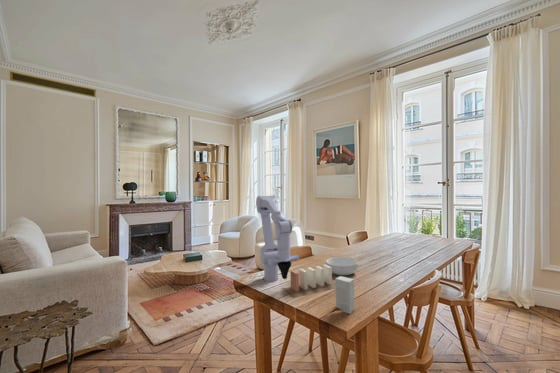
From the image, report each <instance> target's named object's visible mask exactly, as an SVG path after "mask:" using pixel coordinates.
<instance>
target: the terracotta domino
mask: <svg viewBox="0 0 560 373" xmlns="http://www.w3.org/2000/svg"><path fill="white" fill-rule="evenodd" d="M289 272H290V287H291V288H292V289H293V290H294V291H296V292H297V291H299V271H296V270H294V269H292V270H290V271H289Z"/></svg>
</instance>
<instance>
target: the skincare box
mask: <svg viewBox="0 0 560 373" xmlns="http://www.w3.org/2000/svg"><path fill="white" fill-rule="evenodd" d="M334 281H335V282H334V283H335V285H336V289H335V308H338V311H340V312H342V313H346V314H349V315H350V314H352V313H353V312H354V311H355V310H356V308H355V306H356V305H355V300H356V299H355V279H354V278H350V277H346V276H343V275H339V276H338V277H336V278H334Z"/></svg>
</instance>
